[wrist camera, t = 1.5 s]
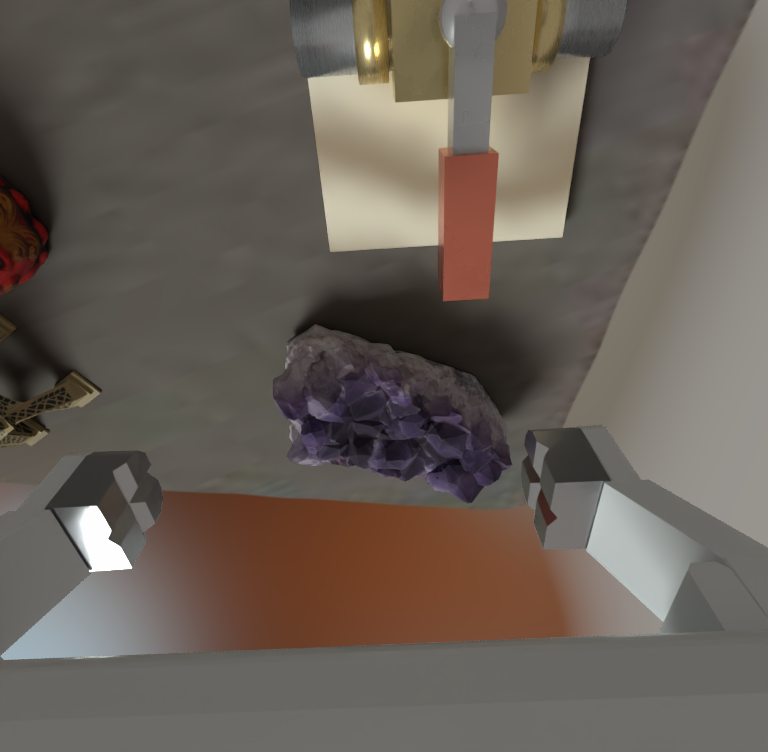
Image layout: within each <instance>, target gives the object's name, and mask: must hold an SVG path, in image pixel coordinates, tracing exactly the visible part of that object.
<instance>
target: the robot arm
mask: <svg viewBox="0 0 768 752" xmlns="http://www.w3.org/2000/svg"><path fill="white" fill-rule="evenodd" d="M525 448H526V450H527V453H528V456H527V457H526V458H525V459H524V460H523V461H522V471H521V477H522V488H523V492H524V496H525V499H526V502H527V505H528V506H529V507H531V508H532V509H533V510H534V511H535V516H534V525H535V528H536V531H537V534H538V536H539V539H540V542H541V544H542V547H543V549H583V548H584V549H585V548H586V549H587V552H589V553H590V554H591V555H592V556H593V557H594V558H595V559H596V560H597V561H598V562H599V563H600V564H601V565H602V566H604V567H605V568H606V569H607V570H608V571H609V572H610V573H611V574H612V575H613V576H614V577H615V578H616V579H618V580H619V581H620V582H621V583H622V584H623V585H624V586H625V587H626V588H627V589H628V590H629V591H631V592H632V593H633V594H634V595H635V596H636V597H637V598H638V599H639V600H640V601H641V602H642V603H644V605H646V606H647V607H648V608H649V609H650V610H651V611H652V612H653V613H654V614H655V615H656V616H657V617H658V618H660V619H661V620H662V621H663V624H662V627H661V629H660V631H659V633H658V634H637V635H635V634H634V635H610V636H586V637H562V638H537V639H513V640H512V639H511V640H487V641H466V642H464V641H463V642H439V643H417V644H393V645H370V646H369V645H368V646H345V647H323V648H322V647H321V648H298V649H297V648H296V649H270V650H247V651H246V650H244V651H219V652H194V653H169V654H146V655H145V654H144V655H120V656H96V657H71V658H48V659H47V658H45V659H22V660H3V659H2V658H1V657H0V752H768V548H767V547H765V546H764V545H762V544H760V543H759V542H757V541H755V540H753V539H752V538H750V537H748V536H746V535H745V534H743V533H741V532H739V531H738V530H736V529H734V528H732V527H731V526H729V525H727V524H725V523H724V522H722V521H720V520H718V519H717V518H715V517H713V516H711V515H710V514H708V513H706V512H704V511H703V510H701V509H699V508H697V507H696V506H694V505H692V504H690V503H689V502H687V501H685V500H683V499H682V498H680V497H678V496H676V495H675V494H673V493H671V492H670V491H667V490H666V489H664V488H662V487H661V486H659V485H657V484H656V483H654V482H652V481H650V480H641V479H640V477H639V476H638V474H637V473H636V471H635V470H634V469H633V467H632V466H631V464H630V463H629V461H628V460H627V458H626V457H625V455H624V454H623V452H622V451H621V449H620V448H619V446H618V445H617V443H616V442H615V441H614V439H613V437H612V436H611V435H610V433H609V432H608V430H607V429H606V427H604V426H602V425H593V426H579V427H576V428H574V427H573V428H556V429H539V430H528V432H527V434H526V438H525ZM150 466H151V463H150V461H149V459H148V457H147V455H146V453H144V452H141V451H108V452H93V453H91V452H87V453H70V454H68V455H66V456H63V457H62V459H61V460H60V461H59V462H58V463H57V464H56V465H55V467H54V468H53V469H52V470H51V471H50V472H49V474H48V475H47V476H46V477H45V478H44V479H43V480H42V482H41V483H40V484H39V485H38V486H37V487H36V489H35V490H34V491H33V492H32V493H31V494H30V495H29V497H28V498H27V499H26V500H25V501H24V503H23V504H22V505H21V506H20V507H19V508H18V509H17V510H16V511H9V512H7V513H5V514H3V515H2V516H0V656H1V655H2V653H4V652H5V651H6V650H7V649H8V648H9V647H10V646H11V645H13V644H14V643H15V642H16V641H17V640H18V639H19V638H20V637H21V636H23V635H24V634H25V633H26V632H27V631H28V630H29V629H30V628H31V627H32V626H34V625H35V624H36V623H37V622H38V621H39V620H40V619H41V618H42V617H43V616H45V615H46V614H47V613H48V612H49V611H50V610H51V609H52V608H53V607H54V606H56V604H58V603H59V602H60V601H61V600H62V599H63V598H64V597H65V596H67V594H69V593H70V592H71V591H72V590H73V589H74V588H75V587H76V586H77V585H79V584H80V582H81V581H83V580H84V579H85V578H86V577H87V576H89V575H90V574H91V572H90V571H100V570H112V569H113V570H114V569H128V568H132V567H133V565H134V563H135V561H136V560H137V558H138V556H139V554H140V552H141V550H142V548H143V546H144V544H145V542H146V538H145V535H144V532H145V531H146V530H147V529H148V528H149V527H151V526H152V525H153V524H155V523H156V521H157V519H158V516H159V514H160V512H161V507H162V500H163V496H162V489H161V486H160V484H159V481H158V480H157V479H156V478H155V477H153V476H152V475H150V474H149V473H148V470H149V468H150Z"/></svg>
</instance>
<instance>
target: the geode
mask: <svg viewBox="0 0 768 752" xmlns="http://www.w3.org/2000/svg"><path fill="white" fill-rule="evenodd" d="M287 353H288V355H287V357H286V364H285V369H286V370H285V372H284V373H283V374H282V375H281V376H279V377H277V378H275V379H274V380H273V398H274V400H275V404H276V405H277V406H278V408H279V409H280V411H281V413H282V414H283V415H284V416H285V417H286V418H287V419H289V420H291V422H292V424H291V425H290V427H289V428H290V430H291V431H290V439H291V440H292V447H291V449H290V450H289V452H288V455H287V457H288V458H289V459H290V461H292V462H293V463H299V464H303V465H312V466H323V465H324V464H325V463H326V462H330V463H332V464H337V465H342V466H346V467H350V466H353V465H356V466H359V467H361V468H363V469H366V468H369V469H370V470H371V471H372V472H374V473H377V474H379V475H381V476H385V477H393V478H399V479H401V480H403V481H407V480H409V479H411V478H412V477H421V476H424V477H425V479H426V481H427V483H428V484H431V486H432V487H433V488H434V490H436V491H444V492H448V493H450V494H452V495H454V496H455V497H457V498H458V499H459V500H461V501H463V502H466V503H472V502H473V500H474V499H475V498H476V496H477V495H478V494H479V492H480V491H481V490H482V488H483V487H484V486H488V485H491V484H492V483H494V482H495V481H497V480H498V479H499V477H500V475H501V472H502V471H505V470H507V469H508V468H509V467H510V466H511V465H512V463H511V459H510V451H509V446H508V444H507V443H506V434H507V426H506V424H505V423H504V422H503V421H502V416H501V415H500V414H499V411H498V409H497V407H496V404H495V403H494V402H493V401H492V399H491V398H490V397H489V395H488V394H487V392H486V391H485V390H484V388H483V386H482V385H481V383H480V381H479V380H478V379H477V378H476V377H475V376H474V375H472V374H470V373H466V372H463V371H459V370H457V369H456V368H453V367H449V366H446V365H443V364H439V363H436V362H433V361H430V360H426V359H424V358H422V357H421V356H419V355H415V354H410V353H407V352H404V351H394V350H393V349H392V347H391V346H390V345H389V344H382V343H370V342H368V341H367V340H365V339H363V338H361V337H358V336H355V335H352V334H349V333H345V332H342V331H337V330H329V329H327V328H324V327H322V326H319V325H316V324H315V325H314V326H312V327H311V328H309V329H308V330H306V331H305V332H303V333H301V334H299V335H296V336H295V337H293V338H291V339H290V340H289V341H288V342H287Z"/></svg>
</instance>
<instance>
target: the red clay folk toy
mask: <svg viewBox="0 0 768 752" xmlns="http://www.w3.org/2000/svg"><path fill="white" fill-rule="evenodd" d="M30 208H31V206H30V203H29V202H28V201H27V199H26V198H25V197H24V196H23V195H22V194H21V193H20V192H18V191H16V190H15V189H14V188H13V187H12V186H10V184H9V183H8V182H7V181H6V180H5V179H4V178H2V177H1V176H0V295H2V294H4V293H7V292H9V291H11V290H13V289H14V288H15V287H16V286H17V285H19V284H22V283H24V282H25V281H27V280H29V279H30V278H31V277H32V276H33V275H34V274H35V273H36V271H37V269H38V268H39V267H40V266H41V265H42V264H44V262H45V260H46V259H47V257H48V254H47V250H46V247H45V244H46V241H47V240H48V232H47V230H46V229H45V227H44V226H43V225H42V224H41V223H40V222H39V221H38V220H36V219H34V218H33V217H32V213H31V210H30Z"/></svg>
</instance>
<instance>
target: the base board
mask: <svg viewBox="0 0 768 752" xmlns="http://www.w3.org/2000/svg"><path fill="white" fill-rule="evenodd" d="M589 62H590V57H589V58H575V59H562V60H554V63H553V65H552V66H551V68H550V69H549V70H548V71H547V72H536V73H531V74H530V84H529V93H523V94H509V95H495V96H492V103H491V120H490V137H489V146H490V147H491V148H493V149H494V150H495V151H497V152H498V153H499V159H498V174H497V188H496V202H495V216H494V230H493V242H494V241H510V240H525V239H541V238H557V237H562V236H563V230H564V223H565V217H566V210H567V204H568V197H569V191H570V185H571V178H572V172H573V165H574V159H575V152H576V146H577V139H578V133H579V126H580V120H581V113H582V107H583V100H584V94H585V87H586V81H587V74H588V68H589ZM308 83H309V91H310V99H311V106H312V114H313V122H314V130H315V137H316V145H317V153H318V161H319V168H320V176H321V184H322V192H323V199H324V207H325V215H326V223H327V231H328V238H329V246H330V252H335V251H351V250H367V249H383V248H399V247H414V246H430V245H438V150H439V148H446V147H447V142H448V99H439V100H425V101H411V102H397V103H395V100H394V98H393V93H392V72H389V83H385V84H371V85H359V80H358V74H357V75H344V76H330V77H316V78H308Z"/></svg>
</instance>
